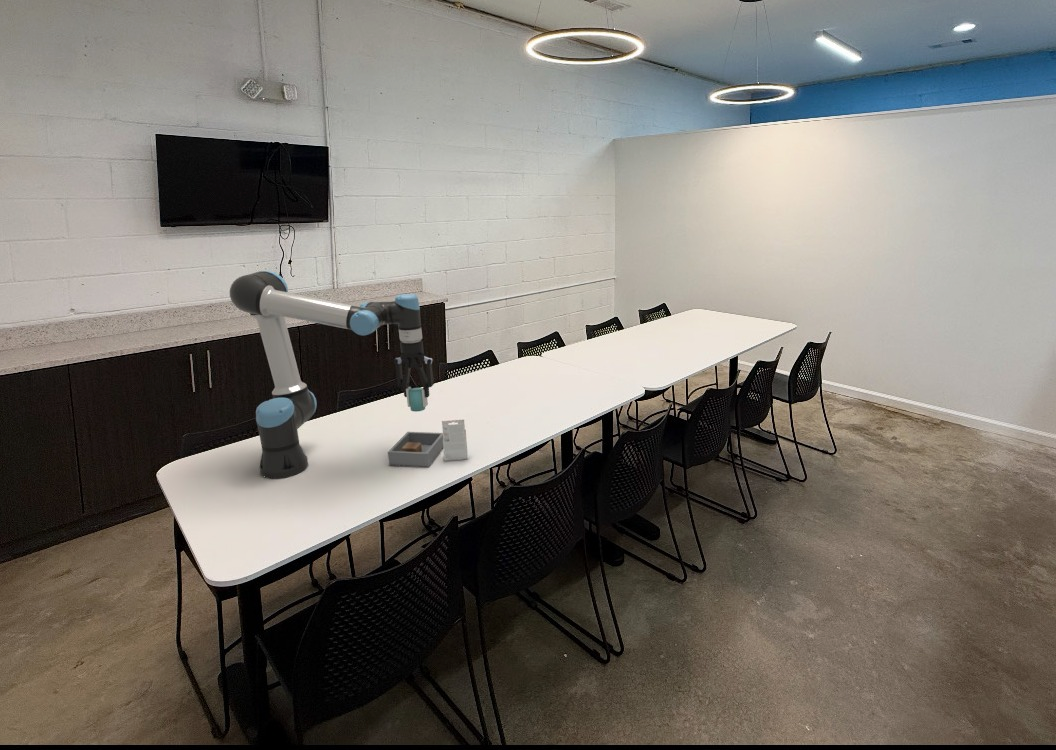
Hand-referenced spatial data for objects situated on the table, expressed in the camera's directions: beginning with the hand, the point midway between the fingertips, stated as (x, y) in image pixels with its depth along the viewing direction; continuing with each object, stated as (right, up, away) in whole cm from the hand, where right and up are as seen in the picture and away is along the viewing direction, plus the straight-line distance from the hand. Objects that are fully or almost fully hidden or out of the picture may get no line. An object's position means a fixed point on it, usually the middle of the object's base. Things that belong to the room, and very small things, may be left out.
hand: (417, 405), depth 204 cm
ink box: (+14, -18, -2) cm, 23 cm away
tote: (0, -17, +1) cm, 18 cm away
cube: (-1, -18, -3) cm, 18 cm away
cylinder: (0, -1, 0) cm, 1 cm away
